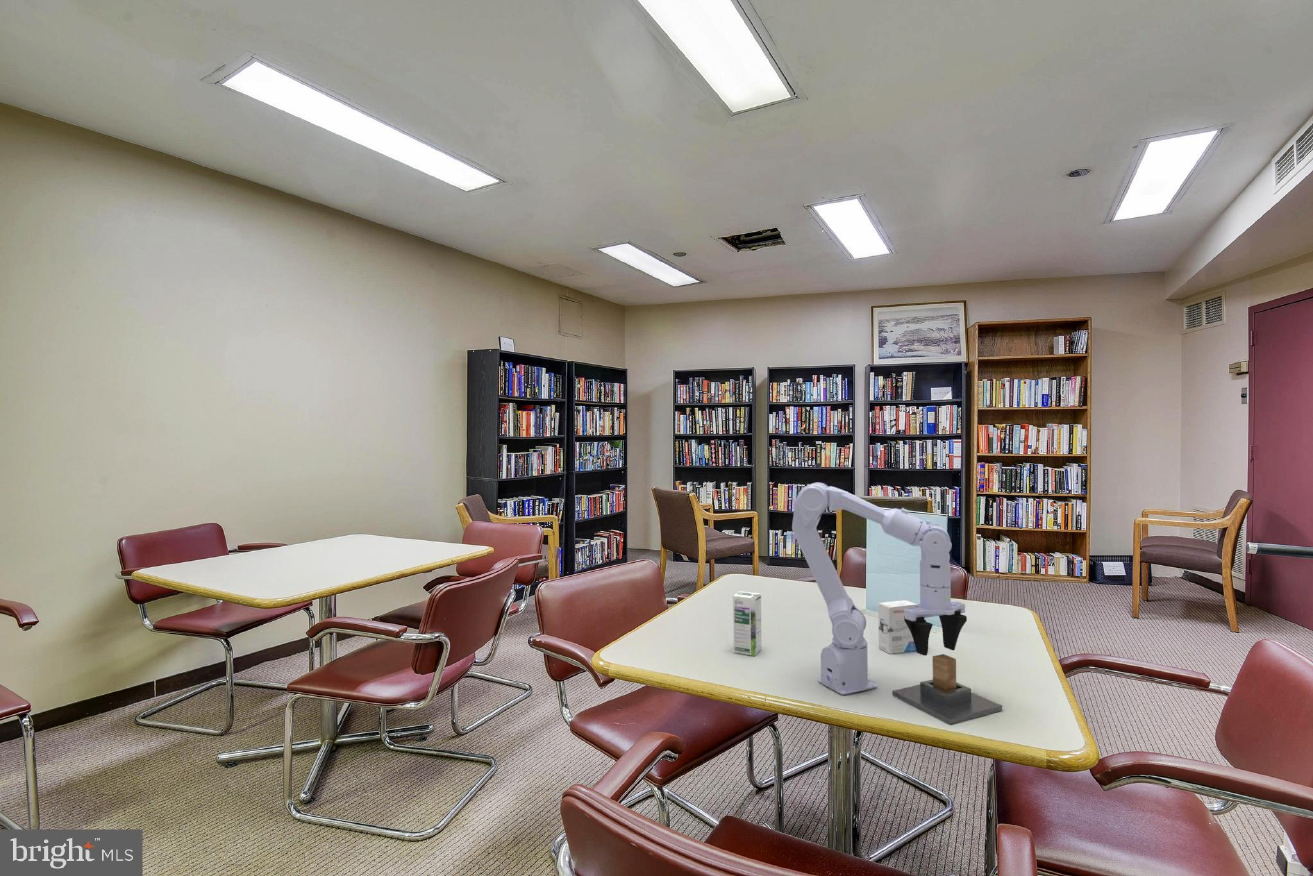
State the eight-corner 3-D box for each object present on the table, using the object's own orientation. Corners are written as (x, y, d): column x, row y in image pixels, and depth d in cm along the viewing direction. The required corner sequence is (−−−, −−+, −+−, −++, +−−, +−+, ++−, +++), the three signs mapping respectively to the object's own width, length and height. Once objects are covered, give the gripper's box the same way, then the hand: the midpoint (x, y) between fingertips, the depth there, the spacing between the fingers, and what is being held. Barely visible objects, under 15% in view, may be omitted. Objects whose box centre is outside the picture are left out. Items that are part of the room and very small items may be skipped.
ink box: (906, 644, 153) (905, 599, 153) (920, 651, 148) (919, 604, 149) (877, 648, 151) (877, 601, 151) (890, 655, 146) (889, 607, 146)
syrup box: (732, 653, 148) (732, 595, 149) (740, 646, 154) (740, 589, 154) (754, 656, 146) (754, 597, 146) (762, 649, 151) (761, 592, 151)
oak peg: (945, 701, 117) (945, 661, 117) (933, 696, 120) (932, 656, 120) (956, 699, 118) (955, 658, 118) (943, 693, 121) (943, 654, 121)
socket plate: (949, 724, 110) (949, 705, 110) (892, 695, 123) (892, 678, 123) (1002, 710, 115) (1001, 692, 115) (941, 684, 128) (941, 667, 128)
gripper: (924, 593, 116) (924, 663, 115) (977, 585, 121) (978, 652, 121) (896, 585, 122) (897, 651, 122) (948, 578, 128) (949, 641, 127)
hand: (935, 651), depth 122 cm, fingers open, 7 cm apart
